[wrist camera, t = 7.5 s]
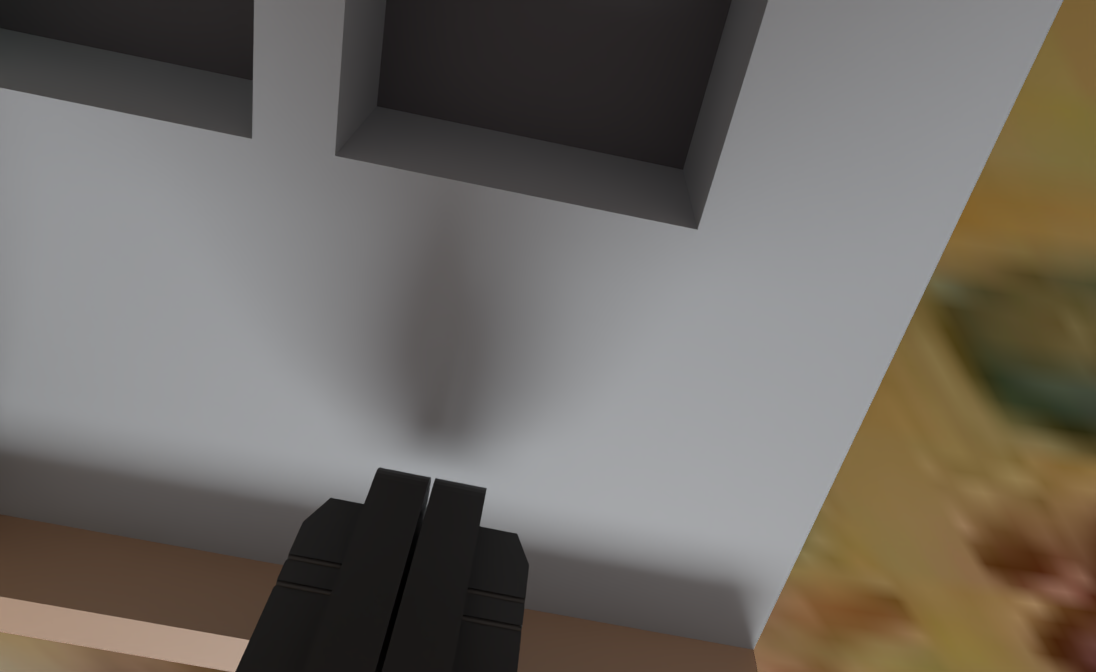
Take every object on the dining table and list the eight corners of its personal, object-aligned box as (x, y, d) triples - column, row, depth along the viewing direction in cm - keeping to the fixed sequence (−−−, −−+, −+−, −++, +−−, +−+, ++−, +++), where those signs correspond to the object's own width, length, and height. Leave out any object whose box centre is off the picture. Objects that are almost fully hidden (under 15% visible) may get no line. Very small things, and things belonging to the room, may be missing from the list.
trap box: (1055, -228, 10) (1344, -270, 6) (712, 592, 17) (744, 814, 13) (-541, -604, 9) (-1395, -936, 5) (-205, 425, 16) (-460, 610, 12)
